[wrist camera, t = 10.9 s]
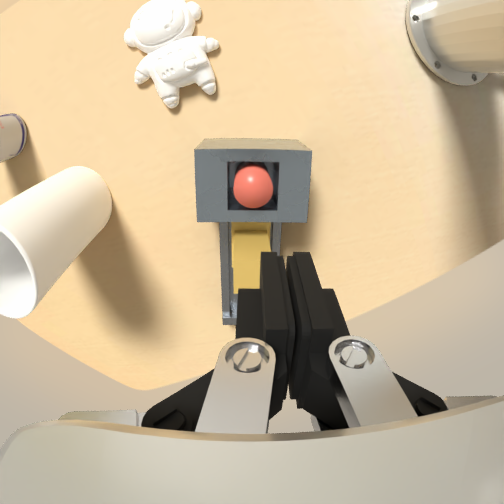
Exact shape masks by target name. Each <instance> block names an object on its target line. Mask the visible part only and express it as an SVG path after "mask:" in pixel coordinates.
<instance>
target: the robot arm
mask: <svg viewBox="0 0 504 504" xmlns="http://www.w3.org/2000/svg"><path fill="white" fill-rule="evenodd" d="M406 26H407V31H408V34H409V37H410V40H411V43H412V45H413V47H414V49H415V51H416V52H417V54H418V55H419V57H420V59H421V60H422V61H423V62H424V64H425V65H426V66H427V67H428V68H429V69H430V70H431V71H432V72H433V73H434V74H435V75H437V76H438V77H440V78H441V79H443V80H444V81H447V82H449V83H451V84H455V85H464V86H469V85H475V84H477V83H479V82H481V81H482V80H483V79H484V78H485V77H486V76H487V74H488V73H499V74H504V0H409V1H408V3H407V8H406ZM434 64H435V65H434ZM288 384H289V393H290V399H296V402H297V408H299V409H300V408H303V409H304V410H306V411H307V412H309V413H310V414H312V415H311V421H312V425H313V428H314V431H315V432H300V433H277V434H267V433H268V426H269V420H270V419H271V418H272V417H273V416H274V415H276V414H277V413H278V412H279V411H280V410H281V409H282V403H283V400H285V399H286V393H287V388H288ZM0 504H504V395H503V396H500V397H497V396H465V397H464V396H463V397H446V398H445V399H444V400H442V399H441V398H440V397H439V396H437V395H435V394H434V393H432V392H430V391H428V390H426V389H424V388H422V387H420V386H418V385H416V384H414V383H413V382H411V381H409V380H407V379H405V378H403V377H401V376H399V375H397V374H395V373H393V372H392V371H391V370H390V368H389V366H388V365H387V363H386V361H385V360H384V358H383V357H382V355H381V353H380V352H379V350H378V349H377V347H376V346H375V345H374V344H373V343H371V342H370V341H369V340H367V339H364V338H362V337H358V336H350V334H349V331H348V328H347V325H346V322H345V319H344V317H343V314H342V311H341V308H340V306H339V303H338V300H337V297H336V295H335V292H334V290H333V289H322V287H321V284H320V281H319V278H318V275H317V272H316V269H315V266H314V263H313V260H312V257H311V254H310V252H293V256H287V264H286V270H285V264H284V259H283V256H277V252H261V257H260V286H259V289H250V288H238V301H237V319H236V338H235V340H233V341H231V342H228V343H227V344H226V345H225V346H224V347H223V348H222V350H221V351H220V353H219V357H218V360H217V363H216V366H215V369H213V370H212V371H210V372H208V373H207V374H205V375H204V376H202V377H200V378H199V379H197V380H196V381H194V382H192V383H191V384H189V385H188V386H186V387H184V388H183V389H181V390H180V391H178V392H176V393H174V394H173V395H171V396H170V397H168V398H166V399H165V400H163V401H161V402H160V403H158V404H156V405H154V406H153V407H152V408H151V409H149V410H148V411H147V412H145V413H137V411H136V410H119V411H74V412H68V413H66V414H64V415H62V416H61V417H60V418H59V419H58V420H51V421H42V422H37V423H32V424H29V425H26V426H23V427H21V428H20V429H17V430H16V431H15V432H14V433H13V434H11V435H10V437H9V438H8V439H7V440H6V441H5V443H4V444H3V446H2V447H1V449H0Z"/></svg>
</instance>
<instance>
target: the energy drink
mask: <svg viewBox="0 0 504 504" xmlns="http://www.w3.org/2000/svg"><path fill="white" fill-rule="evenodd" d="M26 138H27V131H26V126H25V123H24V121H23V120H22V118H21V117H20V116H18V115H17V114H6V115H1V116H0V163H1V162H3V161H5V160H8V159H10V158H13V157H15V156H17V155H18V154H20V153H21V151H22V150H23V148H24V146H25V143H26Z"/></svg>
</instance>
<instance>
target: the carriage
mask: <svg viewBox="0 0 504 504" xmlns="http://www.w3.org/2000/svg"><path fill="white" fill-rule="evenodd" d="M270 227H271V222H231V232H232V268H233V282H234V294H238V288H250V289H259V286H260V257H261V252H271V249H270Z"/></svg>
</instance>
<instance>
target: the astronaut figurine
mask: <svg viewBox="0 0 504 504" xmlns="http://www.w3.org/2000/svg"><path fill="white" fill-rule="evenodd" d="M200 17H201V8H200V6H199V5H198V4H197V3H195V2H192V1H191V2H188V3H186V1H185V0H152V1H150V2H148V3H146V4H144V5H143V6H142V7H141V8H140V9H139V10H138V11H137V12H136V13H135V14H134V16H133V18H132V20H131V23H130V29H127V30H126V32H125V34H124V41H125V43H126V44H127V45H128V46H130V47H137V48H138V49H140V50H141V51H143V52H145V53H147V54H148V55H147V56H146V57H144V58H143V60H142V61H141V62H140V63H139V65H138V66H137V68H136V70H137V71H136V72H135V83H136V84H142V83H144V82H145V81H147V80H148V79H149V78H150V77H151V78H152V80H153V82H154V84H155V87H156V90H157V92H158V94H159V96H160V98H161V99H163V102H164V103H165V104H166V105H167V107H168V108H175V107H176V106H177V105H178V104H179V88H180V87H185V86H188V85H191V84H193V83H197V85H198V86H201V88H202V90H203V91H204V92H206V93H207V94H209V95H211V94H213V93H215V91H216V83H215V76H214V72H213V69H212V67H211V64H210V62H209V59H208V57H207V55H206V53H208V52H211V51H213V50H216V49H218V47H219V42H218V41H217V40H215V39H213V38H208V39H207V38H206V37H205V36H192V34H193V32H194V29H195V21H197V20H199V19H200Z"/></svg>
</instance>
